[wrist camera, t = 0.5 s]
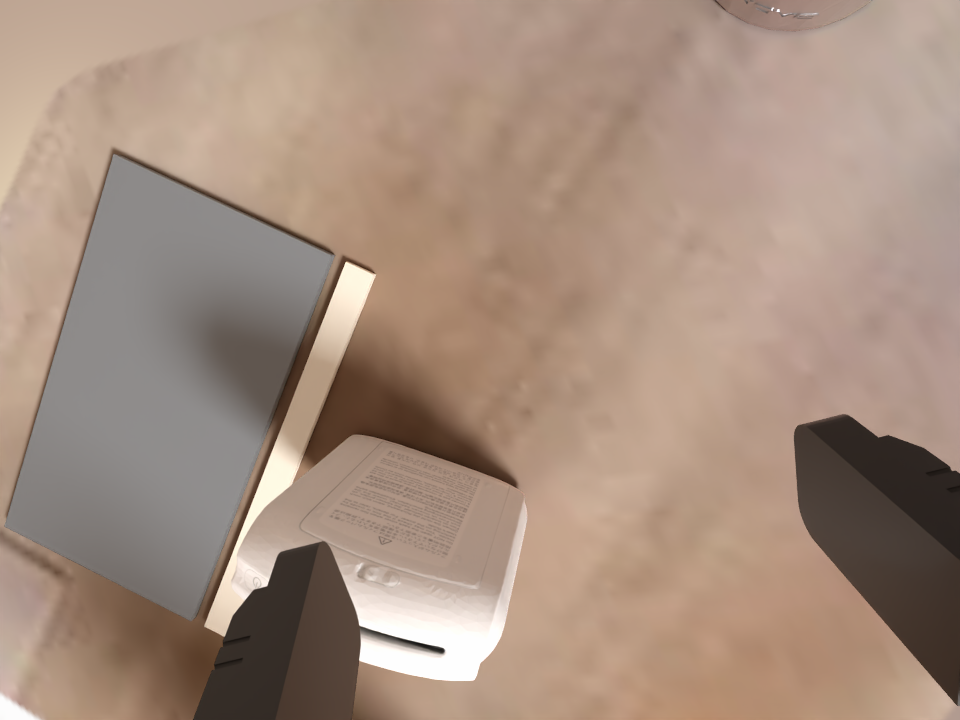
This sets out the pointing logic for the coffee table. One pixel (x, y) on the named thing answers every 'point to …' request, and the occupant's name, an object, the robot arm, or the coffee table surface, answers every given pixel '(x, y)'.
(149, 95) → the coffee table surface
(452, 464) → the photo printer
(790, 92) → the coffee table surface
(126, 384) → the mat
